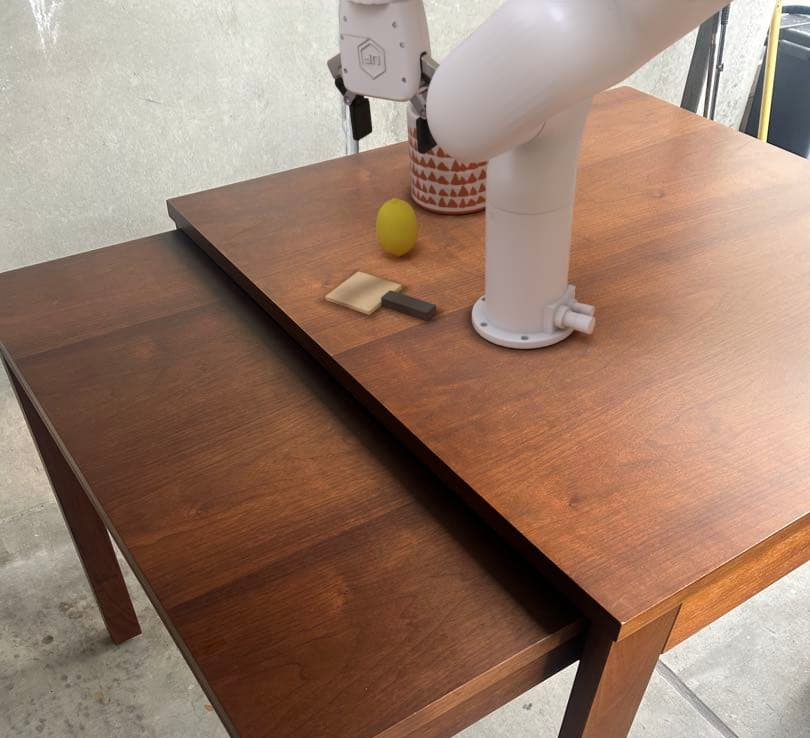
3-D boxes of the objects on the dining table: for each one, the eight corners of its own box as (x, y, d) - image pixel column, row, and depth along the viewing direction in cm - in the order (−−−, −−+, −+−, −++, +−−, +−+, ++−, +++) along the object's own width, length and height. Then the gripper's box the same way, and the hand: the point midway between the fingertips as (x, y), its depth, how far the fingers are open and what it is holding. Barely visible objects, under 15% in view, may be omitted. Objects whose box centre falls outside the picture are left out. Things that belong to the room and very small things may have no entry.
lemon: (415, 267, 114) (411, 209, 108) (374, 265, 115) (368, 207, 109) (423, 246, 117) (420, 189, 112) (383, 245, 118) (378, 187, 113)
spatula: (447, 303, 107) (447, 295, 106) (415, 331, 104) (415, 322, 103) (358, 274, 113) (357, 266, 112) (325, 300, 110) (324, 291, 109)
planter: (490, 220, 121) (492, 127, 112) (398, 211, 125) (392, 119, 115) (514, 177, 130) (517, 87, 121) (427, 169, 133) (424, 81, 124)
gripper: (296, -18, 94) (320, 143, 106) (427, -4, 86) (436, 167, 99) (339, -36, 98) (357, 121, 110) (467, -24, 90) (471, 143, 103)
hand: (394, 143), depth 105 cm, fingers open, 9 cm apart
